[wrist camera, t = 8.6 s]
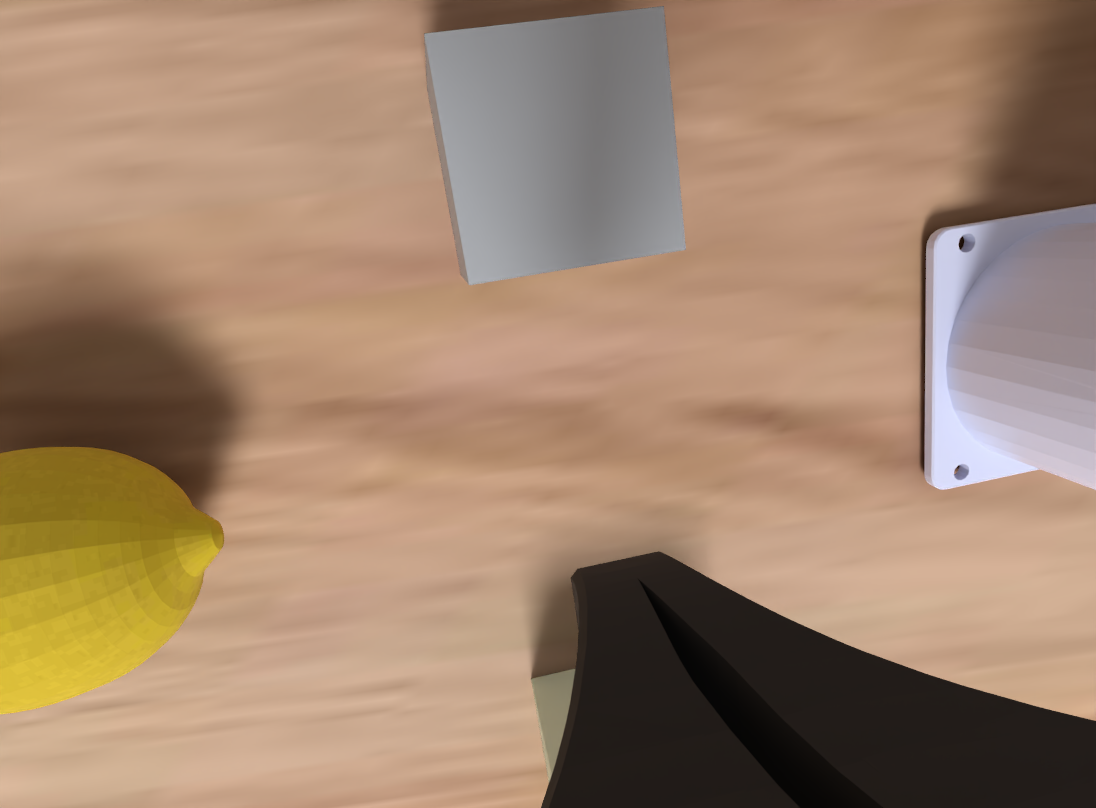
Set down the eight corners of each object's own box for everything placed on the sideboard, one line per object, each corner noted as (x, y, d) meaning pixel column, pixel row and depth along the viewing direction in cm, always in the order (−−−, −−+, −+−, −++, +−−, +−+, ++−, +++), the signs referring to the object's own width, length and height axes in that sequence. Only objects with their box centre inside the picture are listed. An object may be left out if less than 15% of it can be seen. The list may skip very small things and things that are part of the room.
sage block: (668, 645, 21) (728, 749, 17) (680, 759, 22) (738, 885, 18) (530, 677, 20) (555, 792, 16) (550, 792, 22) (578, 930, 17)
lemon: (256, 448, 18) (-52, 512, 17) (152, 380, 13) (-297, 466, 12) (277, 653, 17) (-61, 735, 16) (168, 671, 11) (-349, 794, 10)
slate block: (604, 68, 17) (663, 6, 12) (624, 248, 18) (685, 249, 13) (427, 90, 16) (424, 33, 12) (460, 274, 17) (468, 284, 13)
